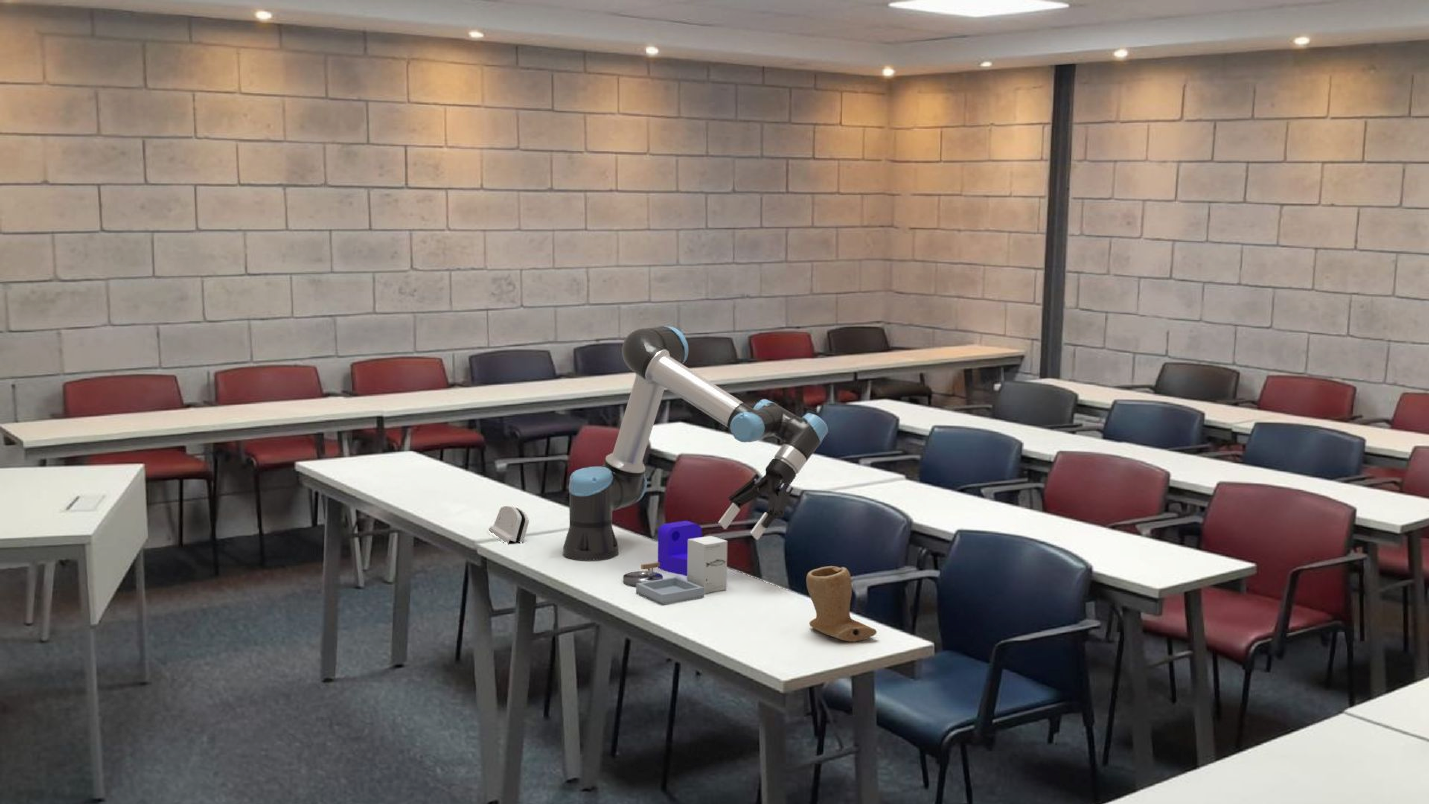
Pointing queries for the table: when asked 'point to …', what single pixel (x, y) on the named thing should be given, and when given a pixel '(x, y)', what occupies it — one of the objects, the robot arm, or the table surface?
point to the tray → (669, 590)
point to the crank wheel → (642, 575)
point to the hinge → (510, 524)
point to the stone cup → (834, 604)
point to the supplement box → (707, 563)
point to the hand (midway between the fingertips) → (737, 531)
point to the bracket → (676, 545)
